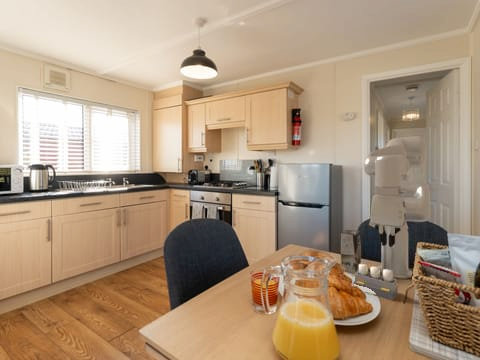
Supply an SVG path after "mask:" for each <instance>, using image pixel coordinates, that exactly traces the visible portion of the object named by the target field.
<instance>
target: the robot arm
mask: <svg viewBox="0 0 480 360" xmlns="http://www.w3.org/2000/svg"><path fill="white" fill-rule="evenodd" d="M427 161H428V147H427V142H426V140H425V138H423V137H422V136H419V135H416V136H415V135H414V136H402V137H395V138H391V139H390V140H389V141H388V142H386V145H385V146H384V147H382V148H379V149H375V150H373V151H370V153H368V155H367V156H366V157H365V160H364V164H363V171H364V173H365V174H366V175H367V176H368V177H374V180H375V181H374V182H375V183H374V185H375V187H374V188H375V189H374V193H375V194H373V196H372V200H371V206H370V207H371V208H370V220H369V223H368V225H369V226H370V227H372V228H375V230H376V231H378V233H379V235H380V238H379V239H380V243H381V249H380V251H381V252H380V253H381V258H380V259H381V264H380V265H378V266H377V267H379V268H380V275H383V269H388V270H392V271H393V279H404V280H405V279H410V278H412V277H413V276H412V273H414V272H413V271H412V270H411V269H409V231H408V230H409V226H408V224H407V222H414V223H415V222H416V223H417V222H418V223H422V222H423V223H424V222H426V221H428V220H429V219H430V218H431V217H430V216H431V212H432V211H431V208H432V207H431V190H430V189H431V188H430V185H429V184H428V183H427V182H426V181H424V180H410V176H409V174H407V173H408V172H409V170H410V169H412V168H415V169H416V168H417V169H418V168H422V167H425V166H426V164H427Z"/></svg>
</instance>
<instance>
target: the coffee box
mask: <svg viewBox="0 0 480 360" xmlns="http://www.w3.org/2000/svg"><path fill="white" fill-rule="evenodd" d="M361 235H362V232H361V230H356V229H355V230H354V229H353V230H352V229H345V230H344V231H343V232H341V233H340V267H341V266H343V267H344V268H345V271H344V272H348V273H352V274H356V273H357V272H358V271H359V264H362V257H361V256H362V249H361V245H362V243H361V241H362V238H361V237H362V236H361Z"/></svg>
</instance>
